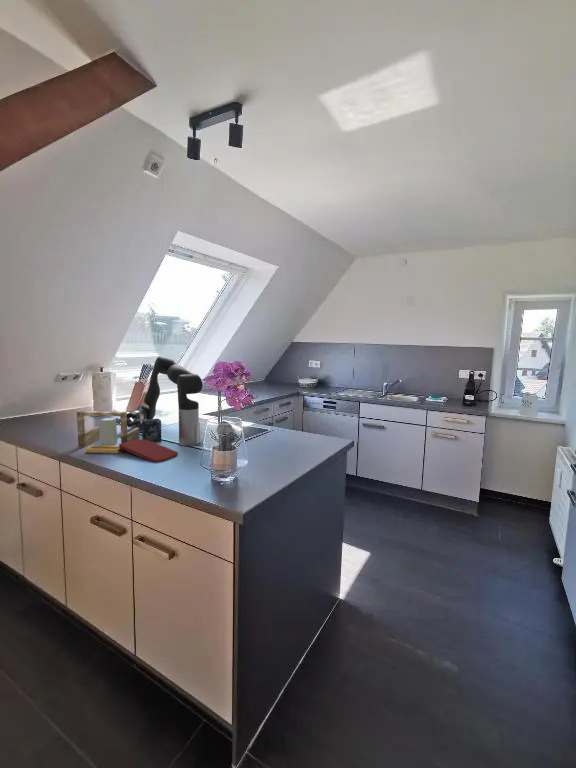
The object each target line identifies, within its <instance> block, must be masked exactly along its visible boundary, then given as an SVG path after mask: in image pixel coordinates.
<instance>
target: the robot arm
mask: <svg viewBox="0 0 576 768" xmlns="http://www.w3.org/2000/svg"><path fill="white" fill-rule="evenodd" d="M159 374H160V375H161V374H162V375H166V376H167V378H168V380H169V381H171V382H172V383H173V384H175V385H176V387H177V403H178V445H180V446H181V447H182V446H184V447H192V446H198V445H199V444H200V443H201V423H200V421H199V420H200V418H199V416H200V413H199V412H200V411H199V408H200V407H199V406H200V405H199V402H198V401H196V400H194V399H190V398H188V395H194V394H199V393H200V392H201V391H202V390H203V385H204V383H203V380H202V378H201V377H200V375H199V374H197V373H194V372H190V371H189V370H187V369H186V368H185V367H183V366H181V365H180V364H178V362H177V361H175V360H174V359H172V358H168V357H164V356H157V358H156V359H155V361H154V363H153V368H152V371H151V376H150V380H149V385H148V388H147V391H146V394H145V396H144V399H143V403H144V404H140V405H138V407H137V408H136V410H132V411H130V412H128V413H127V428H132V427H135V426H137V427H138V426H140V425H142V420H147V419H155V416H156V410H157V403H158V401H159V400H158V399H159V398H160V394H161V389H160V384H159V380H158V377H159ZM145 404H146V405H145ZM116 426H120V427H121V419H120V418H119V417H116Z"/></svg>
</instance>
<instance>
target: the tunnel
mask: <svg viewBox="0 0 576 768" xmlns="http://www.w3.org/2000/svg"><path fill="white" fill-rule="evenodd" d="M127 414H128V413H127V411H108V410H107V411H104V410H103V411H102V410H101V411H100V410H79V411H76V423H77V425H76V426H77V442H78V443H77V445H78V447H77V448H78V449H83V448H85V447H87V446H89V445H90V444H93V443H95V442H96V441H99V440H101V427H100V426H95V427H93V428H91V429H89V430H87V431H85V430H86V429H85V427H86V425H85V417H87V416H88V417H90V416H91V417H120V418H119V419H121V423H120V424H121V426H120V438H121V439H120V441H121V442H120V444H121V443H125V442H128V441H132V440H137V439H140V427H134V428H133V429H131V430H130V431H128V426H127Z"/></svg>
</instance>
